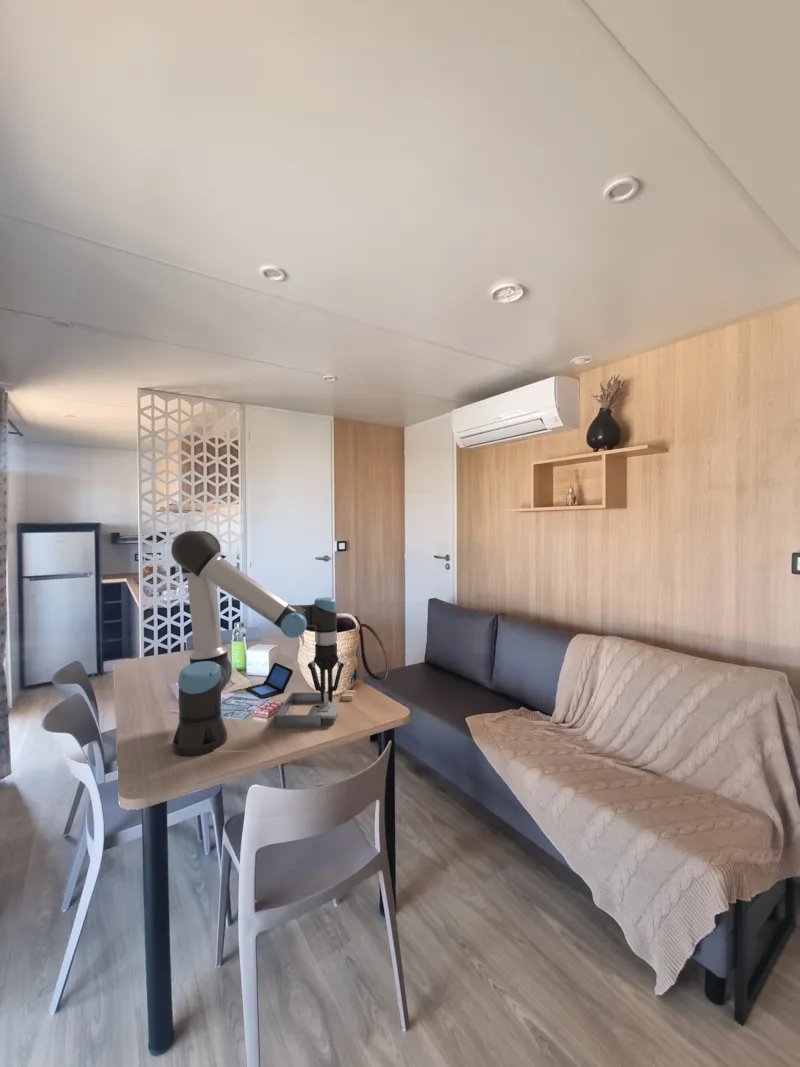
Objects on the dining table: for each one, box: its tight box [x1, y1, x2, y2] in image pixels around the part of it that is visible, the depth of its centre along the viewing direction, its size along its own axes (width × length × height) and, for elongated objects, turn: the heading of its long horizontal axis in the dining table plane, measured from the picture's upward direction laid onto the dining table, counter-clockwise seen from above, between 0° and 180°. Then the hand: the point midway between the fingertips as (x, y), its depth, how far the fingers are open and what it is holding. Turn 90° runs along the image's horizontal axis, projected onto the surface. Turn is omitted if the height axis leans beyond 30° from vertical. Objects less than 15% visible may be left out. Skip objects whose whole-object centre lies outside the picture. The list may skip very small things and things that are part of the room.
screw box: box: [341, 689, 357, 702], centre depth 170 cm, size 6×4×3 cm, turn 174°
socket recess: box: [273, 692, 334, 729], centre depth 157 cm, size 22×15×4 cm
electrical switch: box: [307, 703, 341, 726], centre depth 151 cm, size 9×5×9 cm
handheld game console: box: [245, 662, 294, 700], centre depth 181 cm, size 16×13×9 cm
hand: (326, 710), depth 157 cm, fingers closed
